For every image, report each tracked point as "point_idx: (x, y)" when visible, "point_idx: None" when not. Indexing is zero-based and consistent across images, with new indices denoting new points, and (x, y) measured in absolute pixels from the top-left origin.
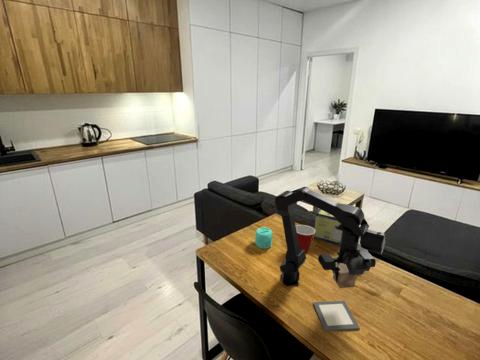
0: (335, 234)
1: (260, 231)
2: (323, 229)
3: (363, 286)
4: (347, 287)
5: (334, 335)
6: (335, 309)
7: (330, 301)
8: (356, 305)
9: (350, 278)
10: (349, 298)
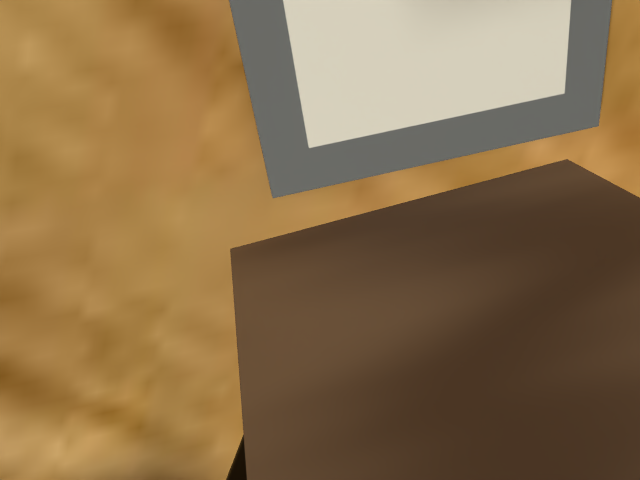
0: None
1: None
2: None
3: (27, 425)
4: (392, 208)
5: None
6: (408, 48)
7: (424, 162)
8: (142, 163)
9: (460, 395)
10: (202, 249)
